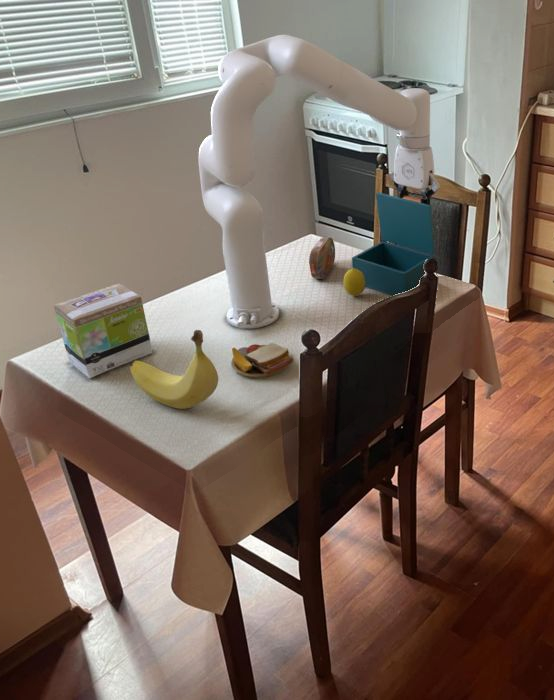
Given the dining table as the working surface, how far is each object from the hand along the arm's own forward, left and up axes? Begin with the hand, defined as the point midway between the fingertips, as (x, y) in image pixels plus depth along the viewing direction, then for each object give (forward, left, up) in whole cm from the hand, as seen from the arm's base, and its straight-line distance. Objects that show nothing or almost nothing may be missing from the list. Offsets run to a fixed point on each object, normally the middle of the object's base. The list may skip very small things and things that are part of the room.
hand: (414, 208), depth 190 cm
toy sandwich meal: (-46, +36, -18) cm, 61 cm away
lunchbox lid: (-4, +3, -3) cm, 5 cm away
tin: (0, +25, -18) cm, 31 cm away
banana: (-60, +52, -18) cm, 81 cm away
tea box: (-41, +70, -18) cm, 83 cm away
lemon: (-15, +16, -18) cm, 29 cm away
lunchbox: (-8, +6, -17) cm, 20 cm away
